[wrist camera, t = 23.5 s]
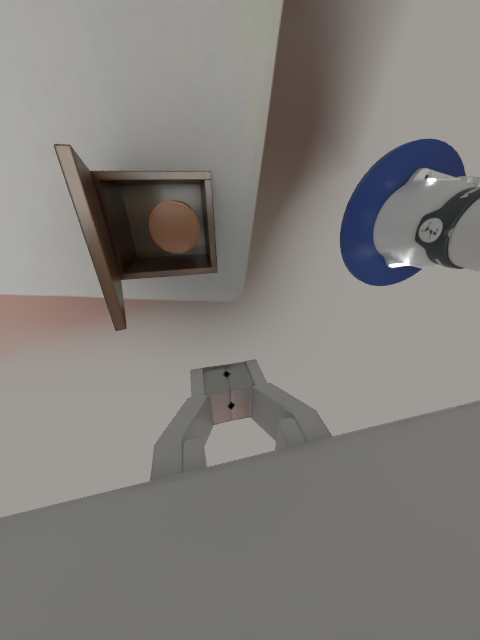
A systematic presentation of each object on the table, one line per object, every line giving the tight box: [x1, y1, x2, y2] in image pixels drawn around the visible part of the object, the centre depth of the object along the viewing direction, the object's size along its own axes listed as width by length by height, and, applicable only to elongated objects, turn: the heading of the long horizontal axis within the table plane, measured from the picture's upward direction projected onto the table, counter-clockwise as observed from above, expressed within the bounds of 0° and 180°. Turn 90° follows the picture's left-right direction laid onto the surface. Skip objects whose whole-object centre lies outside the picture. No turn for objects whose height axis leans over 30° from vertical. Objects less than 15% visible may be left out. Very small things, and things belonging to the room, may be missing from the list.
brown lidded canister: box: [149, 200, 200, 253], centre depth 31 cm, size 6×6×8 cm
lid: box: [54, 144, 126, 331], centre depth 20 cm, size 13×12×1 cm
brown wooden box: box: [90, 171, 217, 280], centre depth 31 cm, size 13×12×10 cm
